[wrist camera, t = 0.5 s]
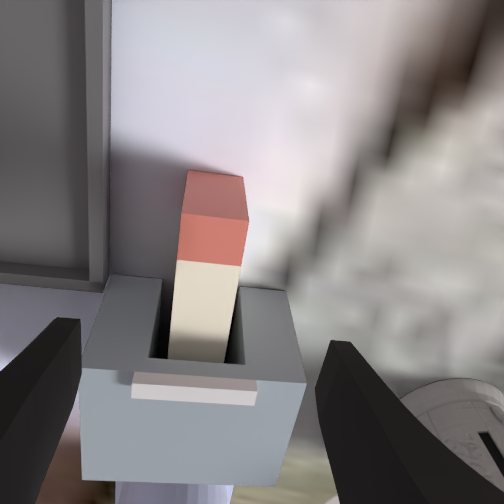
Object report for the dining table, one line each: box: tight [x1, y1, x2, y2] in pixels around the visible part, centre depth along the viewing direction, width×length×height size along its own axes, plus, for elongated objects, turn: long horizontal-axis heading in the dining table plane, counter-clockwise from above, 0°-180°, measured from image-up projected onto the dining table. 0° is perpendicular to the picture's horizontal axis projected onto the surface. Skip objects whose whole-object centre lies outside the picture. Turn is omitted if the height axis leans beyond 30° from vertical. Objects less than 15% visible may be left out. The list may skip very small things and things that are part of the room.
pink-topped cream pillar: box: [168, 170, 249, 363], centre depth 21 cm, size 10×2×4 cm, turn 171°
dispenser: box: [79, 274, 307, 487], centre depth 22 cm, size 7×9×7 cm
